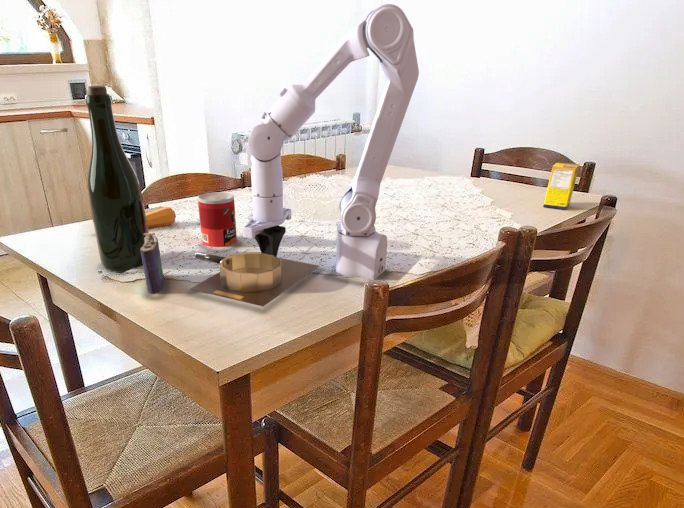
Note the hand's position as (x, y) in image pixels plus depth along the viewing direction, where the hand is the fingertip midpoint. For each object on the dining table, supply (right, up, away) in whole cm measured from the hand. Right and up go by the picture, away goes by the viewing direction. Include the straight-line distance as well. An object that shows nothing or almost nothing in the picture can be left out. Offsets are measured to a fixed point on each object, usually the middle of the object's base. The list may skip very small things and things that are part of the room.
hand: (269, 264), depth 105 cm
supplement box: (+78, +25, +42) cm, 92 cm away
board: (-2, -4, -2) cm, 5 cm away
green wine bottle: (-30, +1, +6) cm, 31 cm away
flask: (-21, -6, -5) cm, 23 cm away
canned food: (-12, +7, +16) cm, 21 cm away
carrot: (-34, +14, +27) cm, 46 cm away
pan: (-7, -3, -3) cm, 8 cm away
